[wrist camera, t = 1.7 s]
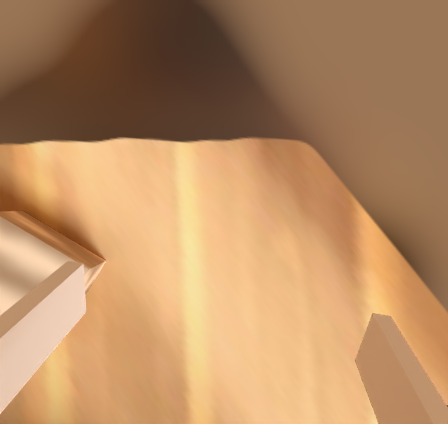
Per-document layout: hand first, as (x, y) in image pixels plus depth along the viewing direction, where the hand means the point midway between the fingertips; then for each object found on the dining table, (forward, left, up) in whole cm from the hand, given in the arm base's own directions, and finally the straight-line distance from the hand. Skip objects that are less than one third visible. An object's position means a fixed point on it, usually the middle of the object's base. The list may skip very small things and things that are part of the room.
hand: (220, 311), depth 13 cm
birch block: (-18, +19, -30) cm, 40 cm away
